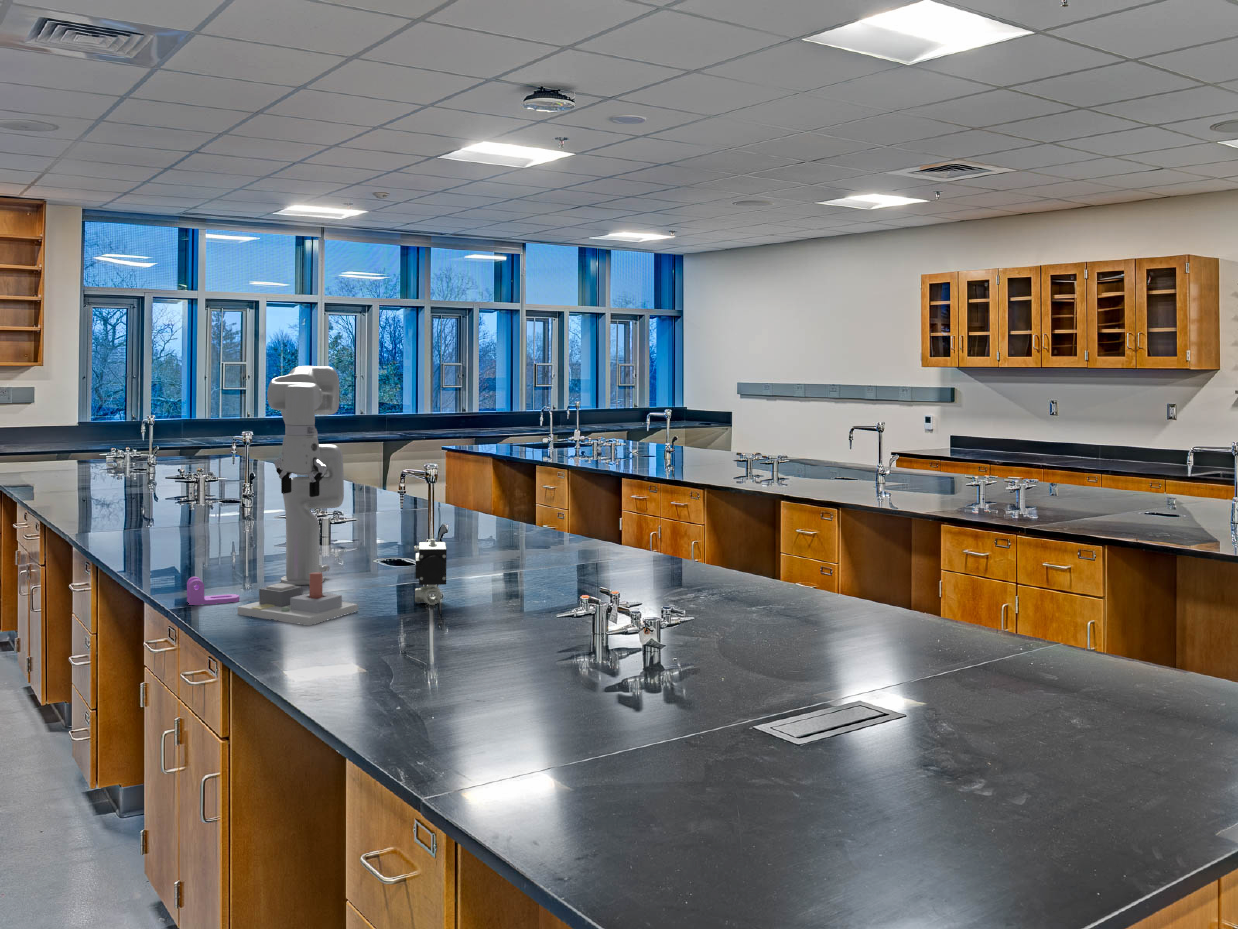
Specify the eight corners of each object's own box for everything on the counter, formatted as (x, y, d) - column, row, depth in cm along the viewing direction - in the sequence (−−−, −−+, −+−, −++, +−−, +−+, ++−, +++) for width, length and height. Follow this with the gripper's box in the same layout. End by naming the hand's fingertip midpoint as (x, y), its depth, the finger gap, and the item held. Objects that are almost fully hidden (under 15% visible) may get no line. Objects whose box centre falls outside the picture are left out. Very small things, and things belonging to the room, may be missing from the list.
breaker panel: (288, 601, 278) (288, 579, 277) (357, 611, 267) (357, 589, 267) (237, 614, 261) (237, 591, 261) (309, 625, 251) (309, 601, 251)
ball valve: (414, 596, 287) (414, 534, 286) (444, 596, 289) (445, 534, 287) (413, 610, 270) (414, 544, 268) (446, 610, 271) (446, 544, 270)
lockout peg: (315, 606, 264) (315, 571, 263) (325, 607, 262) (325, 573, 262) (306, 608, 261) (306, 573, 260) (316, 609, 260) (316, 575, 259)
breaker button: (280, 597, 270) (280, 583, 270) (294, 599, 268) (294, 585, 268) (266, 601, 265) (266, 586, 265) (281, 603, 263) (281, 588, 263)
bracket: (189, 606, 270) (189, 580, 269) (187, 602, 274) (186, 577, 274) (241, 602, 276) (240, 577, 275) (237, 598, 281) (237, 573, 280)
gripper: (335, 432, 270) (335, 496, 272) (285, 428, 277) (285, 490, 279) (315, 434, 263) (315, 499, 265) (265, 429, 271) (265, 493, 273)
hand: (300, 494), depth 272 cm, fingers open, 9 cm apart
